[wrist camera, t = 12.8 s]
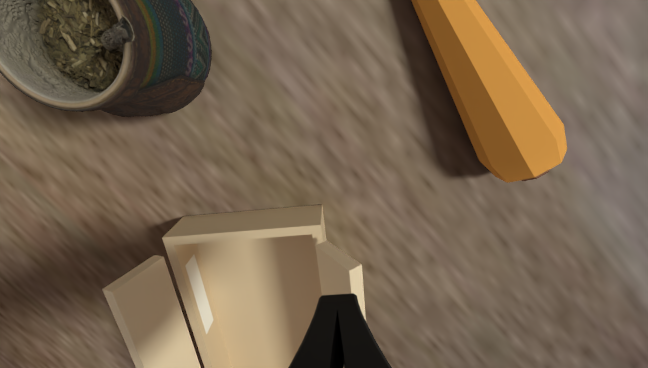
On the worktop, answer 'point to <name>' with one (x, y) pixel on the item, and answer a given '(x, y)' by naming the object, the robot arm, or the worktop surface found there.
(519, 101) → the carrot
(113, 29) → the mate gourd
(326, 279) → the flap
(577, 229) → the worktop surface
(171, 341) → the flap
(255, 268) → the carton
